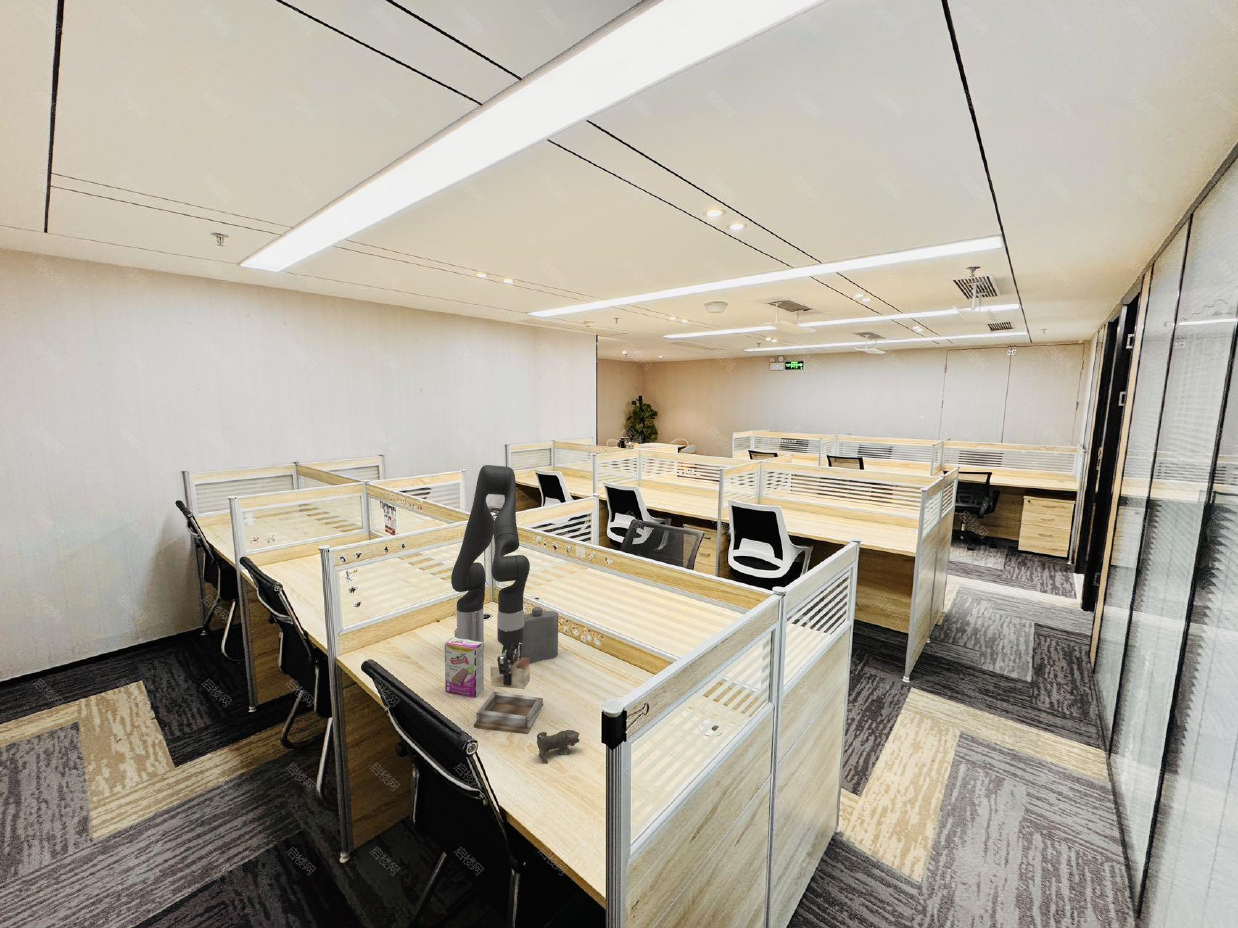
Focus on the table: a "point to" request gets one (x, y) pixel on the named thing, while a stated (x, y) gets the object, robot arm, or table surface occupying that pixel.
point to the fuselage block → (518, 674)
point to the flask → (540, 635)
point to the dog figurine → (556, 742)
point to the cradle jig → (508, 712)
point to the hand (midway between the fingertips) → (510, 679)
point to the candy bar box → (464, 667)
